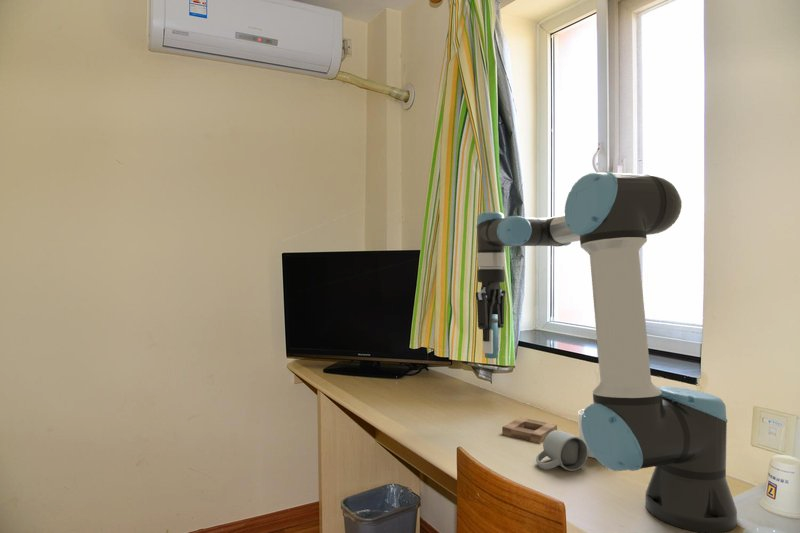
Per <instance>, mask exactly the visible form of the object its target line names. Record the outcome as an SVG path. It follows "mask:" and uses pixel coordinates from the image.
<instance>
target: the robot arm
mask: <svg viewBox="0 0 800 533" xmlns="http://www.w3.org/2000/svg"><path fill="white" fill-rule="evenodd" d="M566 197H567V198H566V201H565V204H564V205H565V206H564V213H561V214H558V215H555V216H552V217H525V216H524V217H523V216H520V215H509V216H507V217H505V215H504V213H502V212H498V211H493V212H492V211H491V212H490V211H489V212H488V211H487V212H481V213H479V214H478V215H477V220H476V221H477V223H476V243H477V244H476V246H477V248H476V249H477V251H476V252H477V256H476V260H477V267H478V269H477V270H476V271H477V273H476V274H477V282H478V283H481V286H480V291H477V292H475V297H476V298H475V299H476V308H477V309H476V310H477V328H478V329H479V330H482V353H483V354H485V353H490V354H492V353H493V330H490V329H491V321H492V314H498V353H499V352H501V340H500V339H501V338H500V337H501V335H500V333H501V332H500V330H501V329H502V328H504V324H505V298H506V290H503V289H501V287H502V286H501V283H504V282H505V280H506V278H505V277H506V276H505V275H506V274H505V273H506V272H505V266H506V262H505V261H506V260H505V258H506V257H505V247H538V246H539V247H557V248H558V247H564V246H565V247H566V246H569V245H571V244H572V243H574V242H579V243H580V248H581V249H582V250H583V251H585V252H586V253H587V254H588V255H589V262H590V264H589V265H590V273H591V286H592V295H593V296H592V298H593V311H594V321H595V333H596V342H597V343H596V344H597V356H598V357H597V358H598V370H599V379H600V381H599V383H598V385H597V386H596V387H595V388H594V389H593V390H592V400H593V402H592V403H591V404H590V405H589V406H587V407H586V408H584V409H585V410H584V414H583V415H582V419H581V426H582V432H583V436H584V439H585V442H586V444H587V446H588V448H589V450H590V451H591V452H592V453H593V455H594V457H595V458H594V459H596V460H597V461H598V463H599V464H601V465H603V467H605V468H606V469H608V470H612V471H616V472H622V471H631V472H635V471H638V470H641V469H648V468H652V467H655V468H654V469H653V472H652V475H651V477H650V479H649V482H648V486H647V489H646V490H645V495H644V496H645V501H644V503H645V507H646V509H647V510H648V512H649V513H650V514H651V515H653V516H654V517H656V518H657V519H658V520H660V521H662V522H664V523H667V524H669V525H671V526H673V527H677V528H680V529H683V530H688V531H693V532H698V533H724V532H728V531H731V530H734V528H736V526H737V525H738V523H737V522H738V510H737V507H736V505H735V502H734V498H733V496H732V495H733V494H732V492H731V490H730V487H729V484H728V481H727V474H726V473H727V472H726V471H727V433H728V432H727V431H728V430H727V427H728V425H727V423H728V418H727V408H726V404H725V402H724V401H723V399H721V398H720V397H718V396H716V395H713V394H711V393H707V392H704V391H699V390H694V389H690V388H684V387H676V386H667V385H666V386H664V385H663V386H658V387H657V386H656V385H655V384H653V382H652V377H651V376H652V375H651V365H650V356H649V344H648V335H647V334H648V333H647V332H648V331H647V325H646V324H647V323H646V313H645V303H644V293H643V291H644V290H643V280H642V270H641V262H640V250H641V248H642V247H643V246H644V245H645V244H646V243H647V240H648V239H647V236H648V235H649V236H650V235H656V234H660V233H663V232H665V231H666V230H668V229H669V228H671V227H672V226H674V224H675V223H676V222H677V220H678V219H679V216H680V215H681V212H682V211H681V210H682V204H683V203H682V198H681V194H680V191H679V190H678V189H677V187H676V186H675V184H673V182H671V181H669V180H668V179H666V178H664V177H661V176H658V175H654V174H638V173H634V174H633V173H621V172H612V171H603V172H590V173H587V174H584V175H583V176H581V177H580V178H578V179H577V180H576V181H575V183H573V185H572V186H571V190H570V191H569V192H568V195H567V196H566ZM503 268H504V269H503ZM500 328H501V329H500Z"/></svg>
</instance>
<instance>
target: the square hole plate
mask: <svg viewBox="0 0 800 533" xmlns="http://www.w3.org/2000/svg"><path fill="white" fill-rule="evenodd" d="M555 430H558V425H557V424H555V423H550V422H545V421H540V420H536V419H530V418H526V417H521V416H519V417H518V418H516V419H515V420H512V421H511V422H508V423H507V424H505V425H503V426H502V430H501V431H502V432H501V433H502V436H503V435H504V436H508V437H512V438H517V439H521V440H525V441H531V442H534V443H537V444H541V443H542V442H544V439H545V437H546V435H547V434H548V433H550V432H552V431H555Z"/></svg>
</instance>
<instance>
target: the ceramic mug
mask: <svg viewBox="0 0 800 533" xmlns="http://www.w3.org/2000/svg"><path fill="white" fill-rule="evenodd" d="M542 448H543V450H542V451H541V452H539V453H538V455H537V456H536V457H535V461H536V463H537V467H538V468H540V469H542V470H551V469H554V468H556V467H558V466H559V467H561V468H562V469H564V470H565V471H568V472H575V471H578V470H581V469H582V468H583V467H584V465H585V464H586V461H587V460H588V457H587V456H588V449H587V445H586V443H585V442H584V441H583V439H581V438H579V436H576V435H574V434H571V433H568V432H565V431H562V430H559V429H557V430H555V431H552V432H550V433H548V434H547V435H546V437H545V439H544V441H543V443H542ZM546 457H547V458H549V460H550V461H548V462H542V460H543V459H545V458H546Z"/></svg>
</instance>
